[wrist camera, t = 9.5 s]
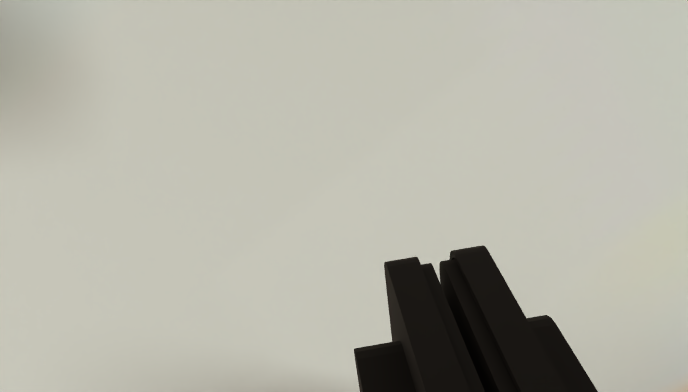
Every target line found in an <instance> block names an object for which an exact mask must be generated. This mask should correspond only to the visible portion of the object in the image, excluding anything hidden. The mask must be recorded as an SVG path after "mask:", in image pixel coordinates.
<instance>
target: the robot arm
mask: <svg viewBox="0 0 688 392" xmlns="http://www.w3.org/2000/svg"><path fill="white" fill-rule="evenodd" d="M384 268H385V278H386V287H387V296H388V305H389V315H390V324H391V333H392V342H390V343H384V344H378V345H373V346H367V347H361V348H355V349H354V354H355V361H356V368H357V375H358V381H359V388H360V392H598V391H597V390H596V388H595V387H594V385H593V383H592V382H591V380H590V378H589V377H588V375H587V374H586V372H585V370H584V369H583V367H582V366H581V364H580V362H579V361H578V359H577V357H576V356H575V354H574V353H573V351H572V349H571V348H570V346H569V345H568V343H567V341H566V340H565V338H564V336H563V335H562V333H561V332H560V330H559V328H558V327H557V325H556V324H555V322H554V321H553V320H552V318H551V317H549V316H547V315H544V316H538V317H532V318H527V319H526V317H525V315H524V313H523V312H522V310H521V308H520V306H519V305H518V303H517V301H516V299H515V298H514V296H513V294H512V292H511V290H510V289H509V287H508V285H507V283H506V282H505V280H504V278H503V276H502V275H501V273H500V271H499V269H498V267H497V266H496V264H495V262H494V260H493V259H492V257H491V255H490V253H489V252H488V250H487V248H486V247H485V246H477V247H471V248H465V249H459V250H453V251H451V252H450V260H446V261H441V262H440V282H439V280H438V277H437V275H436V273H435V270H434V268H433V266H432V264H431V263H429V264H423V265H421V264H420V262H419V260H418V258H417V257H412V258H406V259H400V260H394V261H388V262H385V263H384ZM440 284H441V285H440Z"/></svg>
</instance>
